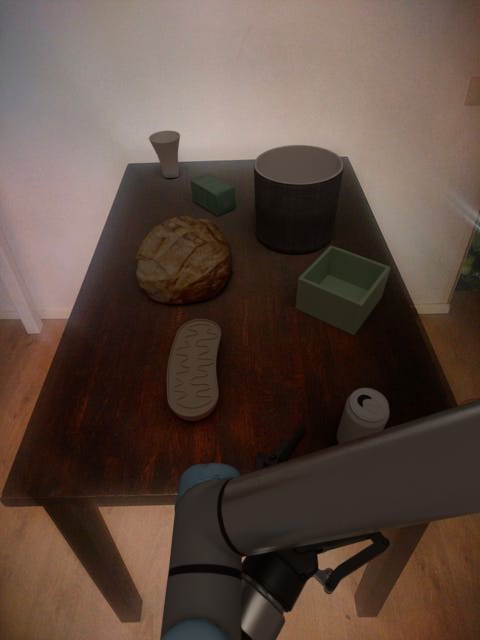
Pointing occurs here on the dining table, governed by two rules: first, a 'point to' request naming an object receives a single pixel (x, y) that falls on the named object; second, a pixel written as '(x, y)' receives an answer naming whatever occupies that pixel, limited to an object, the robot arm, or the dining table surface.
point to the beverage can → (363, 415)
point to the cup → (166, 150)
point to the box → (213, 194)
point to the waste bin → (341, 288)
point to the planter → (296, 197)
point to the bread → (184, 261)
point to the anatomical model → (194, 370)
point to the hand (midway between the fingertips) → (342, 454)
